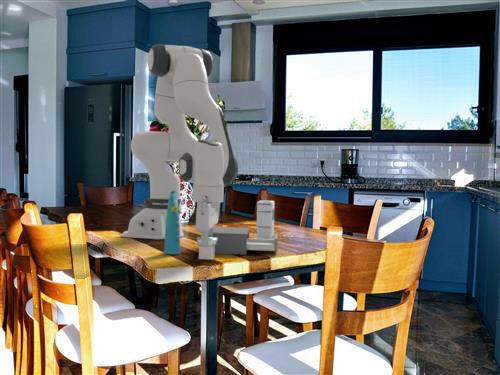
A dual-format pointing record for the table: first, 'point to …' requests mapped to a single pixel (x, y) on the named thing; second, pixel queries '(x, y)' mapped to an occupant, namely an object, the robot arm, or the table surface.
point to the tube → (172, 226)
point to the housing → (231, 240)
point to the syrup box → (265, 219)
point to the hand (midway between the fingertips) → (207, 243)
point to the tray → (262, 244)
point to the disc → (212, 241)
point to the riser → (206, 252)
